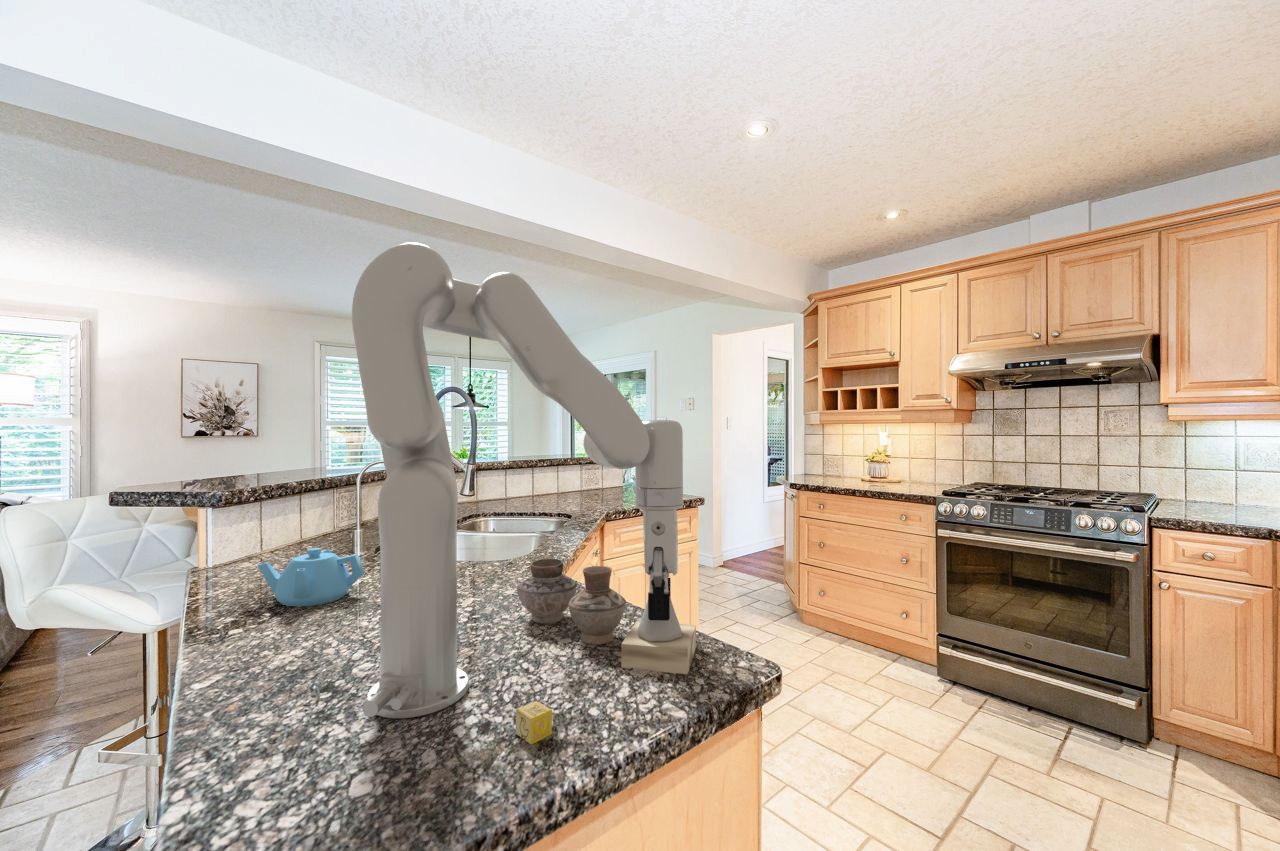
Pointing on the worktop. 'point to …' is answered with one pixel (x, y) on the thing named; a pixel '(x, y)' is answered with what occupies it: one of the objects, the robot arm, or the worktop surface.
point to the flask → (659, 626)
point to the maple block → (659, 651)
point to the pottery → (573, 599)
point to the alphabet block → (533, 722)
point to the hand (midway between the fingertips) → (659, 609)
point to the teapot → (313, 578)
